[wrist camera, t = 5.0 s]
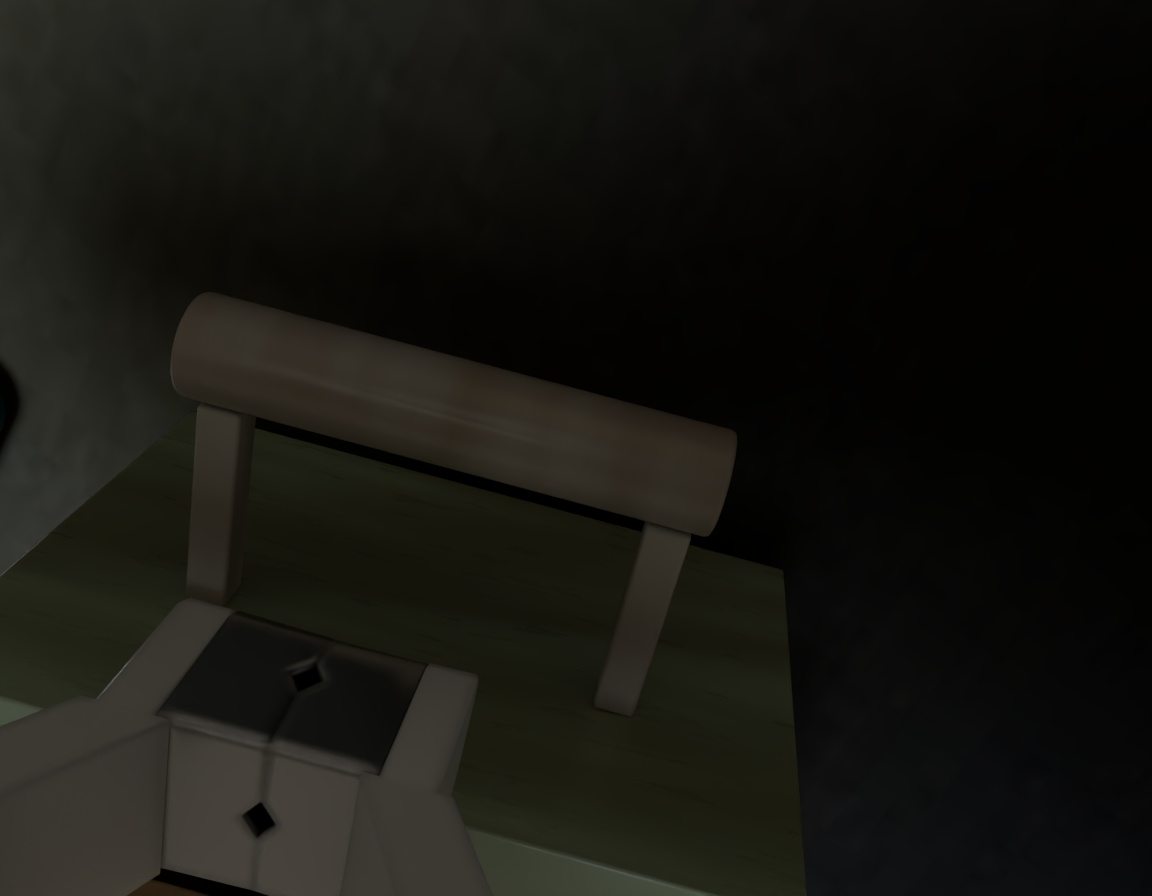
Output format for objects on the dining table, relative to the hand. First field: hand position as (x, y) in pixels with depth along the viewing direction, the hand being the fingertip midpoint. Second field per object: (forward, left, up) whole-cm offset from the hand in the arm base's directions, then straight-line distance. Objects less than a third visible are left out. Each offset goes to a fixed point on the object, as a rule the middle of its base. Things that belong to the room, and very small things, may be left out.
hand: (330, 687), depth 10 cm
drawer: (-5, +5, -9) cm, 11 cm away
